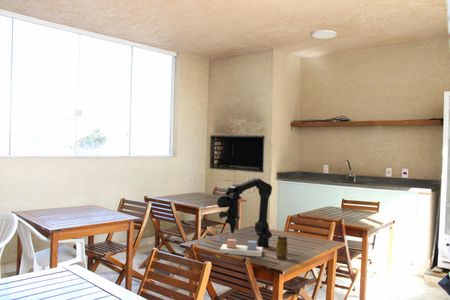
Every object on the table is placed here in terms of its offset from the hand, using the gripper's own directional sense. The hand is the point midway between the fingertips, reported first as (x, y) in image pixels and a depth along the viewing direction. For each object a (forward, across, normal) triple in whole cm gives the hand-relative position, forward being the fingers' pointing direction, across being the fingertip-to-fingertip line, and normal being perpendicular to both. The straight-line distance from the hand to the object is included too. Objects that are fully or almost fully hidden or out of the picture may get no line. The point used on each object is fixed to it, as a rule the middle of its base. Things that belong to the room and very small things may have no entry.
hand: (232, 233), depth 230 cm
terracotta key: (+8, 0, 0) cm, 8 cm away
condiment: (+11, +5, +30) cm, 32 cm away
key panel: (+11, 0, +6) cm, 12 cm away
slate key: (+8, 0, +12) cm, 14 cm away
